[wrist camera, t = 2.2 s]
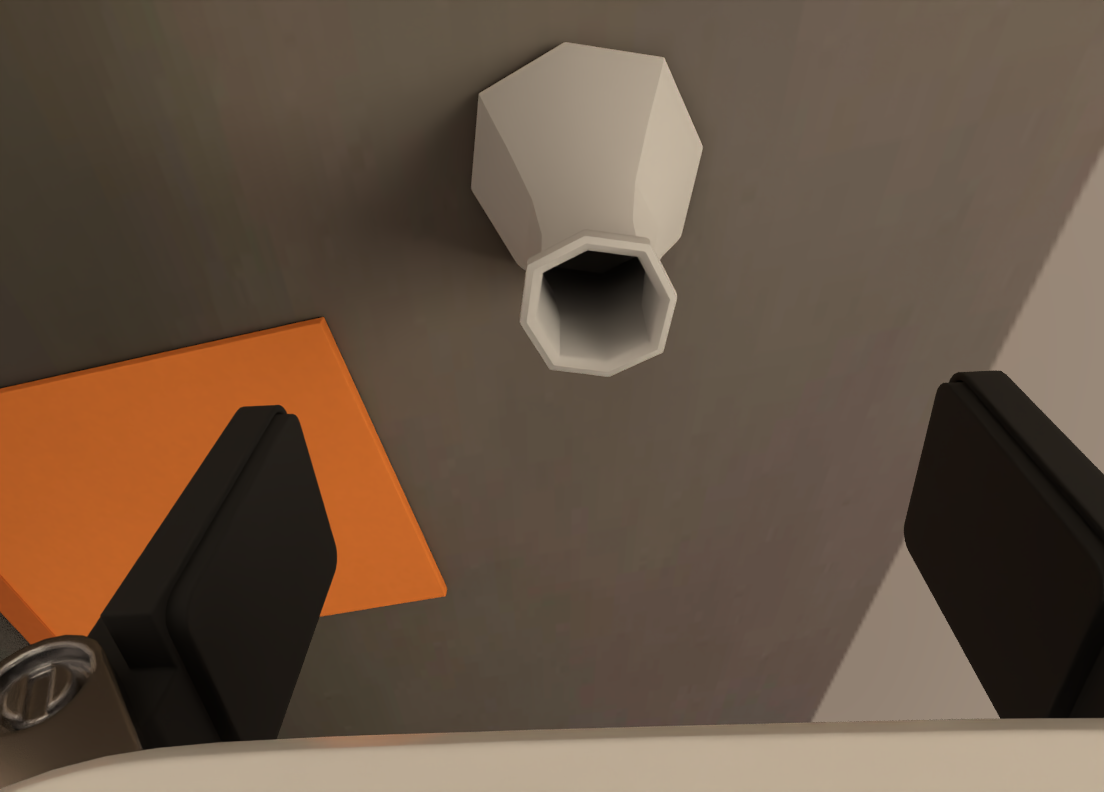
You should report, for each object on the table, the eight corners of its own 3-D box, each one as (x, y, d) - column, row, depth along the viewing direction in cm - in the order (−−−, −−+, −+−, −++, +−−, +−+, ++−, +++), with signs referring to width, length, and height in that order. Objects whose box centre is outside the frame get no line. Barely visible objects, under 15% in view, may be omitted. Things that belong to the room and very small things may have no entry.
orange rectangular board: (-156, 422, 29) (-169, 431, 29) (324, 316, 26) (319, 324, 26) (54, 652, 37) (47, 663, 36) (447, 587, 34) (446, 598, 33)
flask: (692, 15, 21) (777, 88, 13) (709, 254, 25) (784, 429, 17) (441, 64, 22) (368, 165, 14) (497, 289, 26) (465, 474, 17)
